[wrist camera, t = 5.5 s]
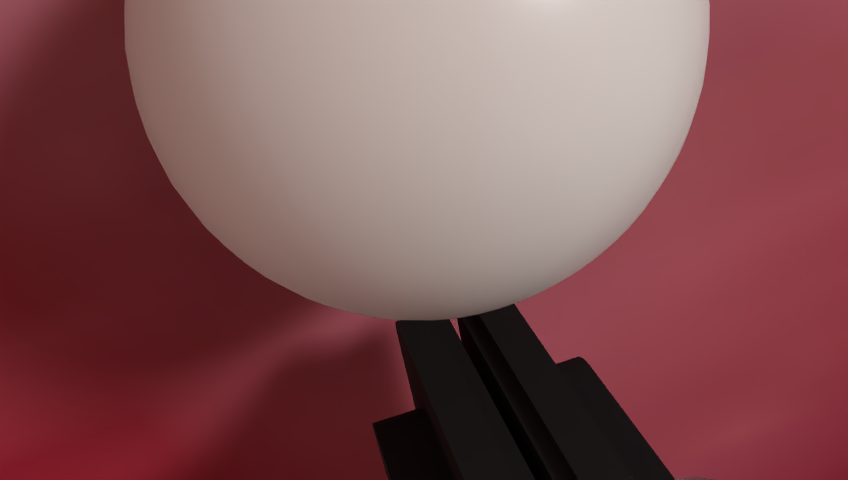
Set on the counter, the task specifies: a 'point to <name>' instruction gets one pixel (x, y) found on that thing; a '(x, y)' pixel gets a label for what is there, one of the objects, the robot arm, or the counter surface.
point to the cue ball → (417, 136)
